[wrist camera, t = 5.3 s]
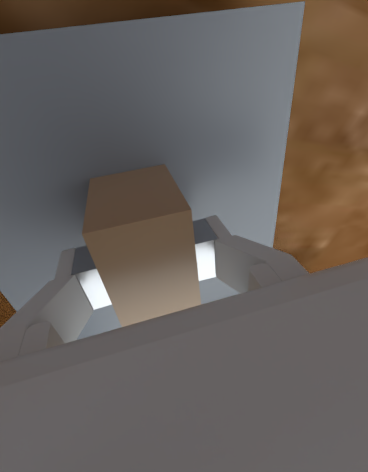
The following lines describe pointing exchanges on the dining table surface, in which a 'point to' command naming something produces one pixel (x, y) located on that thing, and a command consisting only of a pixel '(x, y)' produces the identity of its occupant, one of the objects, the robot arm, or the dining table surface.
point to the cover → (142, 150)
